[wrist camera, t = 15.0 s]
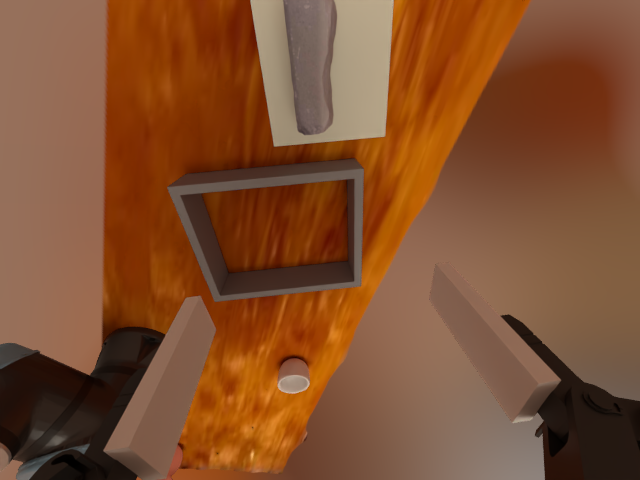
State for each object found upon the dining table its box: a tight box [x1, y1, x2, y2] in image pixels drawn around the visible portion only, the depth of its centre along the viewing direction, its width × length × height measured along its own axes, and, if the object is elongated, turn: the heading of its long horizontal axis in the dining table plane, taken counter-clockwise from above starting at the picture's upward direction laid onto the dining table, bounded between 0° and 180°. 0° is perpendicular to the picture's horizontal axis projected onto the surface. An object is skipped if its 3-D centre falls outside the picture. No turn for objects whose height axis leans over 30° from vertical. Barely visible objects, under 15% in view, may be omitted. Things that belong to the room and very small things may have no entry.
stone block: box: [283, 0, 337, 135], centre depth 26 cm, size 12×5×10 cm, turn 2°
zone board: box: [250, 0, 394, 147], centre depth 31 cm, size 16×16×1 cm
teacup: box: [278, 358, 310, 393], centre depth 61 cm, size 10×8×5 cm
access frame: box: [167, 158, 364, 302], centre depth 39 cm, size 25×20×6 cm
